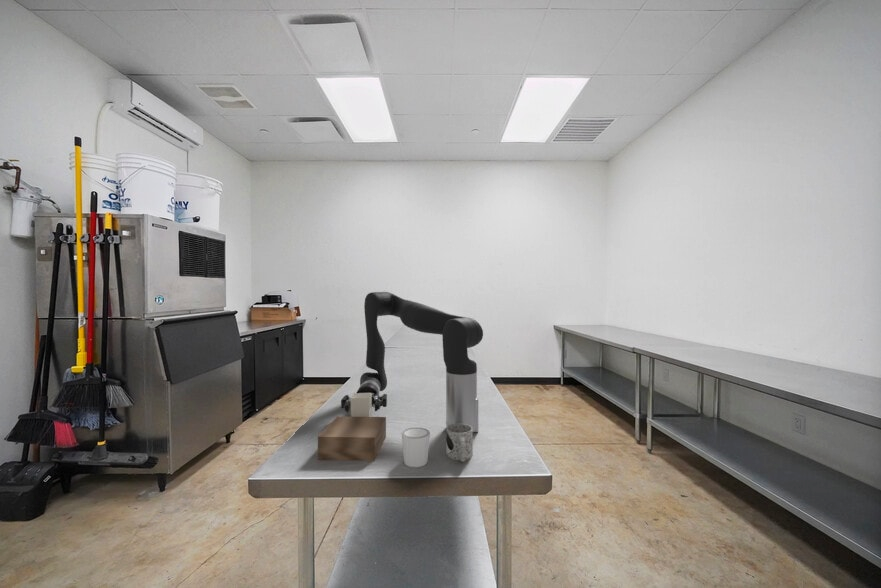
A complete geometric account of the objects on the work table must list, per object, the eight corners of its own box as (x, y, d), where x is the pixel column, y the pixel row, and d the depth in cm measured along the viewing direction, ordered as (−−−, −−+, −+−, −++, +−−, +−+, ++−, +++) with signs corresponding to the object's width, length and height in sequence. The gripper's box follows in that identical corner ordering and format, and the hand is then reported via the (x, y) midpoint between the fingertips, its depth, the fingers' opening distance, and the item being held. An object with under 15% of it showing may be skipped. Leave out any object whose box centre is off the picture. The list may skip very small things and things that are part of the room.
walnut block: (385, 438, 97) (385, 417, 97) (374, 462, 83) (374, 437, 83) (337, 437, 98) (337, 416, 98) (317, 461, 84) (317, 436, 84)
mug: (445, 449, 90) (445, 423, 90) (470, 448, 90) (470, 422, 90) (448, 468, 80) (448, 439, 80) (477, 467, 80) (477, 438, 80)
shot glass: (395, 461, 83) (395, 432, 83) (416, 452, 88) (416, 424, 88) (415, 471, 78) (415, 440, 78) (435, 461, 83) (435, 432, 83)
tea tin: (371, 425, 106) (371, 392, 106) (369, 431, 101) (369, 397, 101) (353, 425, 106) (353, 393, 106) (350, 432, 101) (350, 398, 101)
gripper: (347, 383, 119) (337, 396, 103) (388, 382, 121) (385, 395, 104) (347, 404, 119) (337, 421, 103) (388, 403, 120) (385, 420, 104)
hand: (361, 408), depth 104 cm, fingers open, 8 cm apart
